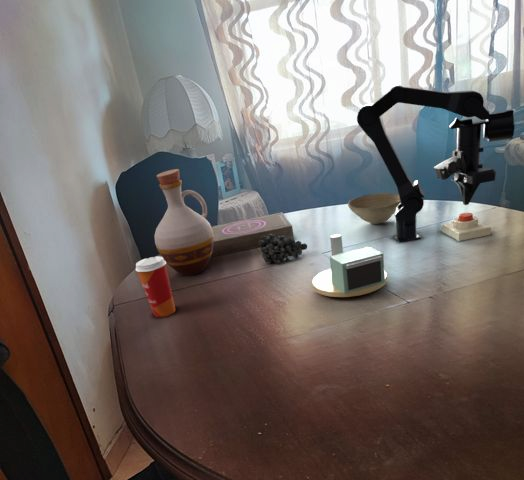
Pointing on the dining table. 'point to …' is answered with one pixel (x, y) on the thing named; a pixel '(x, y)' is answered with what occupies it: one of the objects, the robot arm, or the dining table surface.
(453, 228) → the box
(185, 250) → the jug
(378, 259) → the round platter with block
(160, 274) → the paper cup
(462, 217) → the button
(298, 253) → the fruit
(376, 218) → the bowl
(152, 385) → the dining table surface
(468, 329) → the dining table surface
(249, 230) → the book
